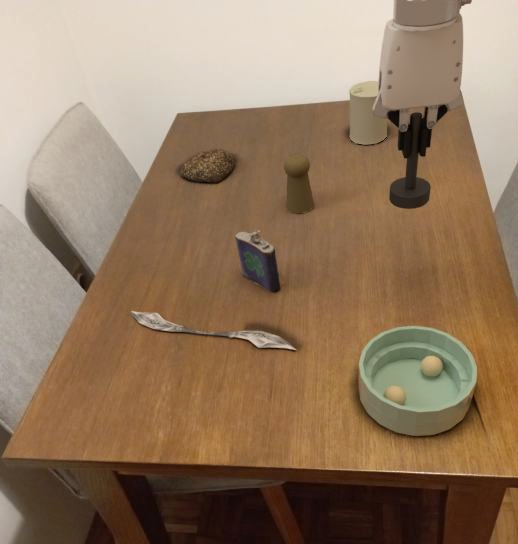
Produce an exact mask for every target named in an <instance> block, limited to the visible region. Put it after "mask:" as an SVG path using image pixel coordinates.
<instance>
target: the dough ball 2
mask: <svg viewBox="0 0 518 544" xmlns="http://www.w3.org/2000/svg"><path fill="white" fill-rule="evenodd" d="M442 368H443V364H442V362H441V360H440V359H439V358H438V357H436V356H427V357H426V358H424V359H423V360H422V362H421V370H422V372H423V373H424V374H425V375H427V376H430V377H434V376H437V375H438V374H440V373H441V371H442Z"/></svg>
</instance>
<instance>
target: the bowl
mask: <svg viewBox="0 0 518 544" xmlns="http://www.w3.org/2000/svg"><path fill="white" fill-rule="evenodd" d="M427 356H436V357H438V358H439V359H440V360H441V362H442V364H443V368H442V371H441V373H440V374H438V375H437V376H434V377H430V376H427V375H425V374H424V373H423V372H422V370H421V362H422V360H423V359H424V358H426V357H427ZM477 379H478V366H477V363H476V360H475V358H474V355H473V354H472V353H471V351H470V350H469V349H468V348H467V347H466V345H465V344H464V343H463V342H462V341H461V340H458V338H456V337H454V336H453V335H451V334H450V333H447V332H444V331H442V330H439V329H436V328H434V327H428V326H421V325H407V326H405V325H404V326H397V327H393V328H391V329H387V330H384V331H382V332H380V333H379V334H377V335H376V336H374V337H372V338H371V339H370V340H369V341H368V342H367V344H366V345H365V346H364V348H363V349H362V351H361V354H360V357H359V362H358V383H357V385H358V386H357V387H358V394H359V400H360V403H361V405H362V406H363V408H364V410H365V411H366V413H367V415H369V416H370V417H371V418H372V419H373V420H374V421H376V423H378V424H379V425H380V426H382V427H384V428H386V429H388V430H390V431H393V432H394V433H398V434H402V435H407V436H412V437H420V436H421V437H422V436H434V435H437V434H441V433H443V432H446V431H449V430H451V429H452V428H453V427H455V426H456V425H457V424H459V423H460V422H461V421H463V419H464V418H465V416H466V415H467V413H468V411H469V409H470V407H471V403H472V400H473V396H474V392H475V390H476V389H475V388H476V384H477V381H478V380H477ZM391 386H399V387H401V388H402V389H403V390H404V391H405V393H406V401H405V403H404V404H403V405H399V404H397V403H395V402H393V401H390V400H388V399H386V398H384V392H385V391H386V389H387V388H389V387H391Z"/></svg>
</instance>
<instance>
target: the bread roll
mask: <svg viewBox="0 0 518 544" xmlns="http://www.w3.org/2000/svg"><path fill="white" fill-rule="evenodd" d="M235 164H236V161H235V158H234V155H232V154H230V153H229V151H228V152H227V151H223V150H222V149H217V148H213V149H208V150H206V151H204V150H203V151H201V152H199V153H198V154H197V155H196V156H194V157H192V159H190V160H189V161H187V162H186V163H184V164H183V165H182V167H181V169H180V175H181V176H182V177H183V178H185V179H187V180H190V181H195V182H200V183H211V184H213V183H212V182H215V183H219V182H221V181H223V180H224V179H226V178H227V177H228V176H229V175H230V174H231V173H232V172H233V169H234V167H235ZM231 171H232V172H231ZM230 172H231V173H230ZM229 173H230V174H229ZM228 174H229V175H228ZM225 177H226V178H225ZM223 178H224V179H223Z"/></svg>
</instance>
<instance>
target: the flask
mask: <svg viewBox="0 0 518 544" xmlns="http://www.w3.org/2000/svg"><path fill="white" fill-rule="evenodd" d="M259 233H260V234H261V230H260V229H255V230H254V231H252V232H246V231H239V232H237V233H236V234H235V242H236V247H237V251H238V258H239V262H240V269H241V275H242V276H243V277H244V278H245V279H246V280H249V281H251V282H252V283H253V284H255V285H258V286H260V287H261V288H263V289H264V290H266V291H267V292H269V293H270V294H277V293H279V292H280V291H281V290H282V287H281V282H280V275H279V270H278V262H277V261H278V260H277V256H276V248H275V247H274V246H273V245H272V244H271V243H269V242H268V241H267V240H265V239H264V238H263V237H262V236H260V235H259Z"/></svg>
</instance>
